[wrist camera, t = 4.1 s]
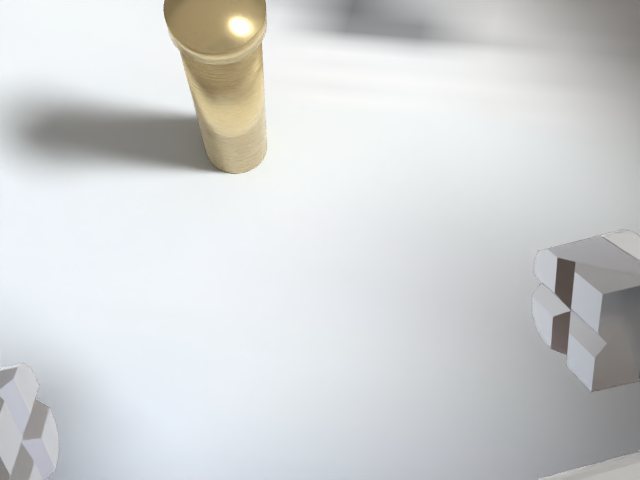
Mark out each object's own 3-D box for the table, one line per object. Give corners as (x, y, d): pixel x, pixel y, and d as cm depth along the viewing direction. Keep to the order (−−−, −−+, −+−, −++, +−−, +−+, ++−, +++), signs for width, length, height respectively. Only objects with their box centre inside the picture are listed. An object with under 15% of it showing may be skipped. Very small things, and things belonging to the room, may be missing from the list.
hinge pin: (285, 148, 30) (287, 11, 20) (232, 190, 29) (209, 68, 19) (239, 103, 30) (221, -50, 21) (187, 143, 29) (142, 2, 20)
